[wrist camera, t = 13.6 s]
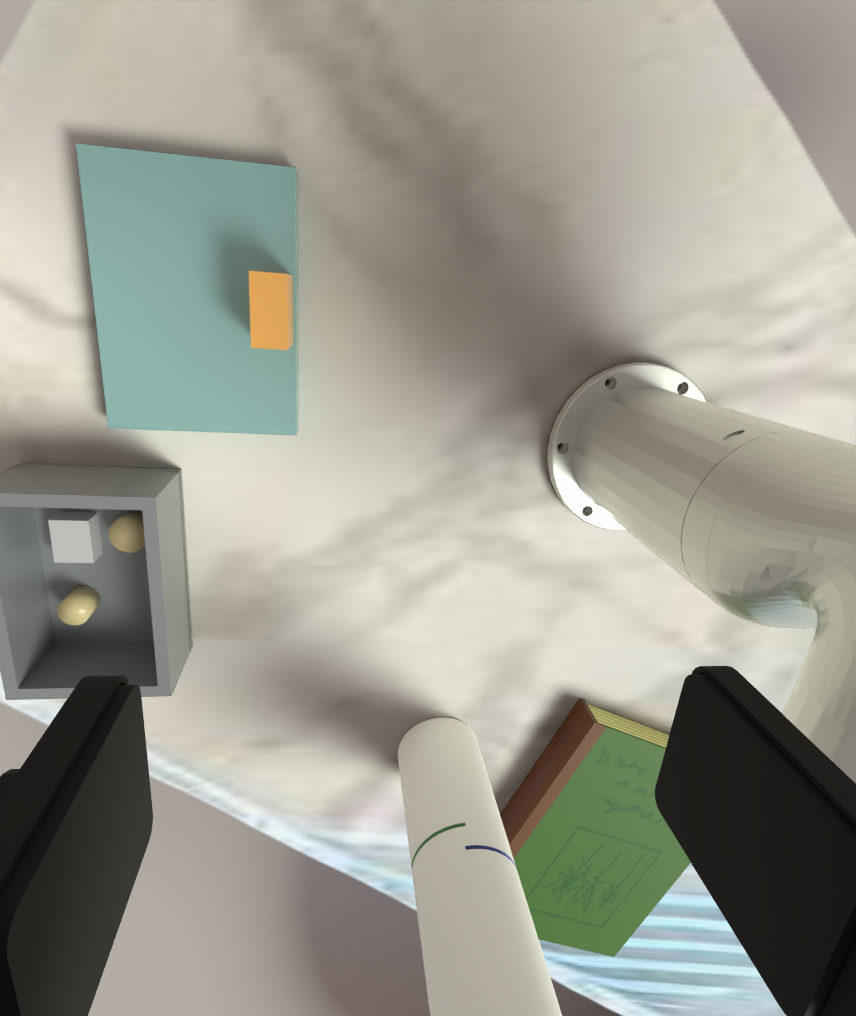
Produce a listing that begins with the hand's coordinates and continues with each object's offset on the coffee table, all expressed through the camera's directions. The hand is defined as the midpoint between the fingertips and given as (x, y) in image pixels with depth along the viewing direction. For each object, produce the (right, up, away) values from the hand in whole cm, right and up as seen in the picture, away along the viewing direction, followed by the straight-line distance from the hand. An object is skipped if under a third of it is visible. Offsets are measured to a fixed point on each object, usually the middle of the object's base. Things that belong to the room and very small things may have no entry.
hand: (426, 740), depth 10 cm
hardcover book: (+16, -27, +48) cm, 57 cm away
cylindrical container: (+1, -17, +41) cm, 45 cm away
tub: (-22, 0, +31) cm, 38 cm away
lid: (-14, +17, +26) cm, 34 cm away
